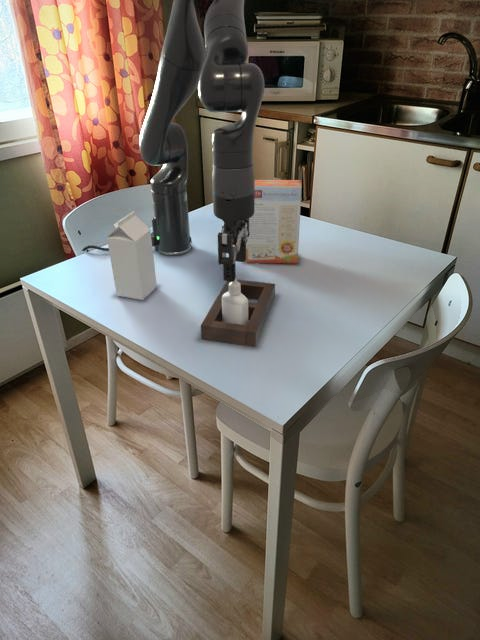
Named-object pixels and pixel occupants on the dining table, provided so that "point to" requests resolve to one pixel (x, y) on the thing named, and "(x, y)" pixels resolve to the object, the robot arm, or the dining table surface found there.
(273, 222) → the cracker box
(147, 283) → the milk carton
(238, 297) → the eye dropper bottle
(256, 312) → the holder
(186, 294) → the dining table surface
